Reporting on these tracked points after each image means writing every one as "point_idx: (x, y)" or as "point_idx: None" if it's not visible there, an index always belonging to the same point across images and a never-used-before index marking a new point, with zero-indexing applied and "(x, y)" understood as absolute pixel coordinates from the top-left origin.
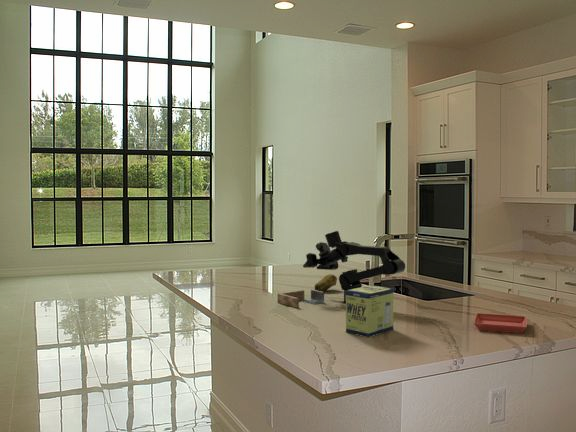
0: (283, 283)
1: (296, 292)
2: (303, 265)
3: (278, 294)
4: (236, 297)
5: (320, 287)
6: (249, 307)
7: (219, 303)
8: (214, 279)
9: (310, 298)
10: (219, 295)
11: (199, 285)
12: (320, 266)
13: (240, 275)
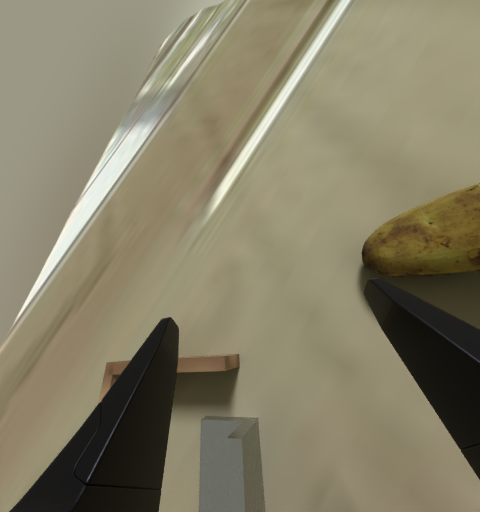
0: (320, 96)
1: (183, 371)
2: (158, 329)
3: (106, 369)
4: (120, 232)
5: (388, 274)
6: (52, 369)
7: (60, 277)
8: (206, 60)
9: (234, 429)
10: (115, 199)
11: (155, 106)
12: (411, 340)
13: (272, 21)
